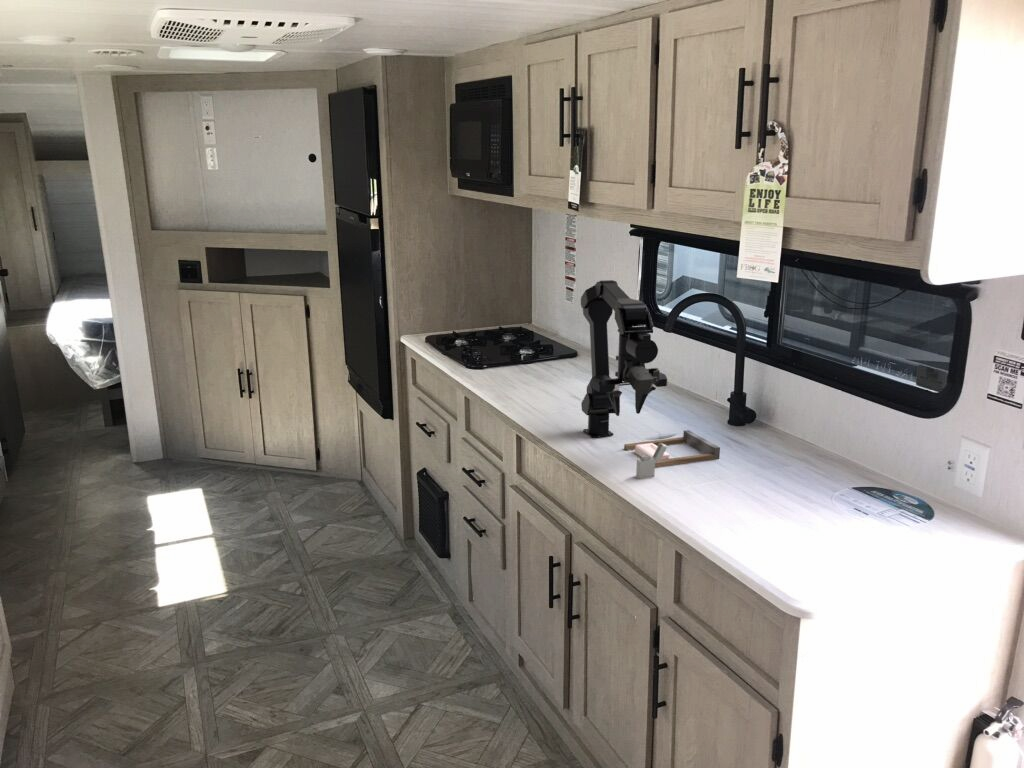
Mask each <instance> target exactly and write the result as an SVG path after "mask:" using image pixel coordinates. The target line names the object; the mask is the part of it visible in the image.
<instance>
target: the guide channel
mask: <svg viewBox="0 0 1024 768" xmlns="http://www.w3.org/2000/svg"><path fill="white" fill-rule="evenodd" d="M648 443H653V444H655V445H656V446H658V445H659V443H662V444H665V445H666V446H671V445H672V446H673V445H680V444H687V445H689V446H690V447H692V448H694V449H695V450H697V451H699V452H701V453H702V454H694V455H687V456H680V457H673V458H669V459H663V460H661V461H660V462H659V461H657V460H656V461H655V469H656V468H662V467H667V466H668V467H670V466H675V465H685V464H690V463H697V462H699V463H700V462H705V461H711V460H712V461H713V460H719V459H720V457H721V456H720V455H721V454H720V453H721V447H720V446H719V445H716V444H714V443H713V442H711V441H710V440H708V439H706V438H704V437H702V436H700V435H698V434H697V433H694V432H693V431H692V430H689V429H686V430H683V436H680V437H671V438H665V439H658V440H657V439H656V440H648V441H641V442H633V443H632V442H631V443H625V444H624V445H623V448H624V450H625V451H633V450H634V451H635V446H636V445H639V444H648Z"/></svg>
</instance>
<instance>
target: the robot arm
mask: <svg viewBox="0 0 1024 768" xmlns="http://www.w3.org/2000/svg"><path fill="white" fill-rule="evenodd" d="M580 306H581V308H582V315H583V316H584V318H585V319H586V321H587V322H588V324H589V337H590V359H591V378H590V380H589V382H588V384H587V386H586V393H585V395H584V397H583V399H582V402H581V411H582V412H583V413H584V414H585V415H586V416H587V417H588V418H587V419H588V420H587V428H584V429H583V430H582V432H584V433H585V434H586V435H588V436H589V437H590V438H593V439H594V438H603V437H610V436H614V433H613V432H612V431H610V428H609V427H610V414H615V416H616V417H619V416H620V412H621V406H620V405H621V395H622V393H623V391H621V390H620V387H621V386H629V385H630V386H631V387H632V390H634V391H635V392H634V393H635V395H634V397H635V398H634V400H635V403H634V405H635V406H634V407H635V413H636V414H638V415H639V414H640V413H641V411H642V409H643V406H644V403H645V402H646V399H647V397H648V395H649V394H651V393H652V392H653V391H656V389H657V388H660V387H667V386H668V377H667V375H666V374H665V373H663V372H661V370H660V369H659V368H658V367H652V368H646V365H645V364H649V363H652V362H654V360H655V359H656V358H657V356H658V353H659V348H658V345H657V343H656V341H654V340H652V339H651V337H652V335H651V334H653V333H654V326H655V325H654V322H653V319H652V316H651V313H650V310H649V308H648V307H647V305H646V304H645V302H643V301H641V300H639V299H633V298H631V297H630V296H629V295H628V294H626V293H625V291H624V290H622V288H621V287H620V286H619V285H618V282H617V281H616V280H613V279H612V280H611V279H610V280H599V281H597V282H596V283H595V284H594V285H593V286H591V287H589V288H587V289H585V290H584V292H583V293H582V295H581V297H580ZM613 311H614V320H615V322H616V325H617V327H618V329H617V332H618V333H619V336H618V355H616V356H615V361H618V362H617V371H615V373H614V376H615V377H617V378H611V376H610V360H609V359H610V358H609V357H610V355H609V340H608V339H609V338H608V322H609V320H610V318H611V317H612V315H613ZM656 387H657V388H656Z"/></svg>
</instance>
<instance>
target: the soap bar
mask: <svg viewBox="0 0 1024 768" xmlns="http://www.w3.org/2000/svg"><path fill="white" fill-rule="evenodd" d="M657 447H658V446H656V445H655V444H653V443H648V444H639V445H636V446H635V450H634V452H635V454H637V455H638V456H640V458H641V457H642V456H643V455H650V456H651V458H653V455H654V453H655V451H656V449H657ZM663 459H670V454H669V453H668V452H667V451H665V452H664V454H663V456H662V458H661V460H663ZM655 461H656V460H655Z"/></svg>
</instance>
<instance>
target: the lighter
mask: <svg viewBox="0 0 1024 768" xmlns="http://www.w3.org/2000/svg"><path fill="white" fill-rule="evenodd" d="M667 448H668V445H665V444H662V443H659V445H658V447H657V449H656V451H655V453H654V455H653V458H651V456H650V455H643V456H642V457H641V456H640V458H637V459H636V472H635V473H636V475H635V477H636V476H637V477H636V478H637V479H639V478H640V479H648V478H649V479H650V478H655V472H656V471H655V470H656V468H655V460H657V461H659V462H660V461H661V458H662V456H663V454H664V452H666V450H667Z"/></svg>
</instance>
